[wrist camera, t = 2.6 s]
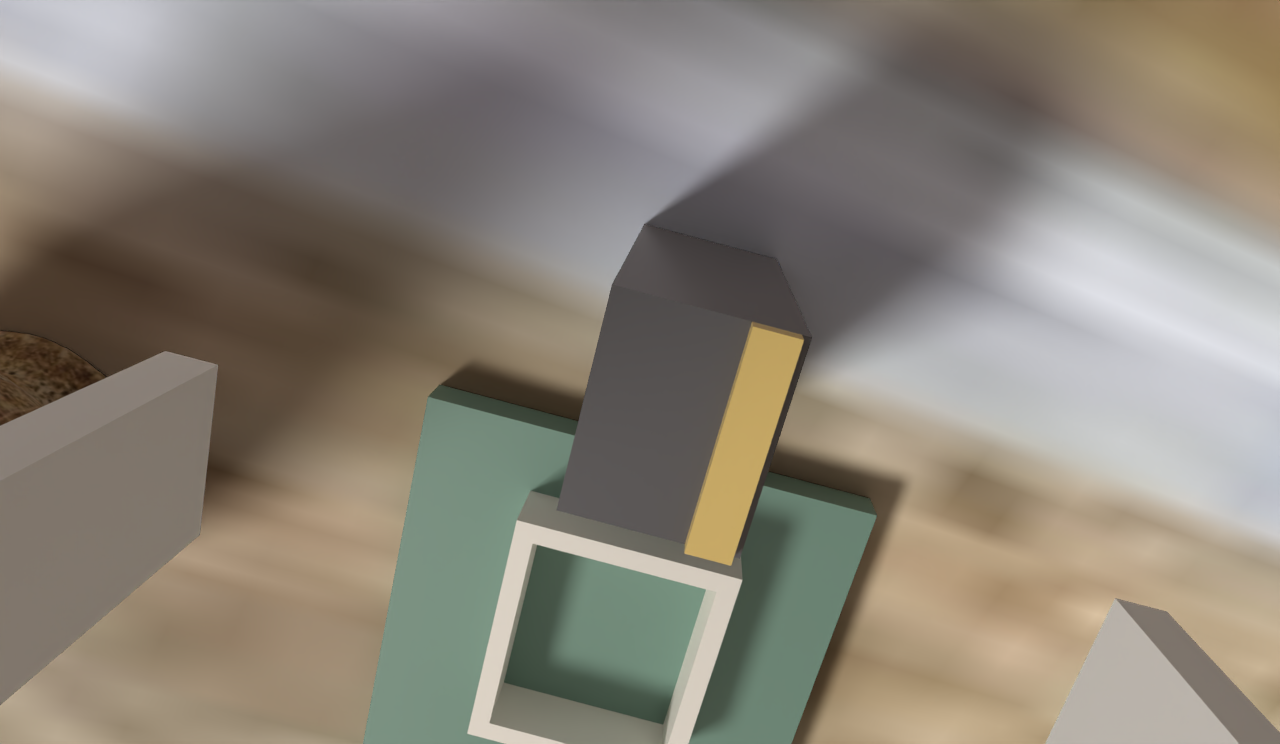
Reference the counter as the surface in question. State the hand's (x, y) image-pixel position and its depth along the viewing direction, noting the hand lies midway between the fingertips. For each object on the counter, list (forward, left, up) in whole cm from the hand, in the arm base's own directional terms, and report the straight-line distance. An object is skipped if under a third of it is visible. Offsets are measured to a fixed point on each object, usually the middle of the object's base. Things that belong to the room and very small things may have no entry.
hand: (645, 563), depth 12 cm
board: (+16, 0, -14) cm, 21 cm away
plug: (0, 0, -14) cm, 14 cm away
